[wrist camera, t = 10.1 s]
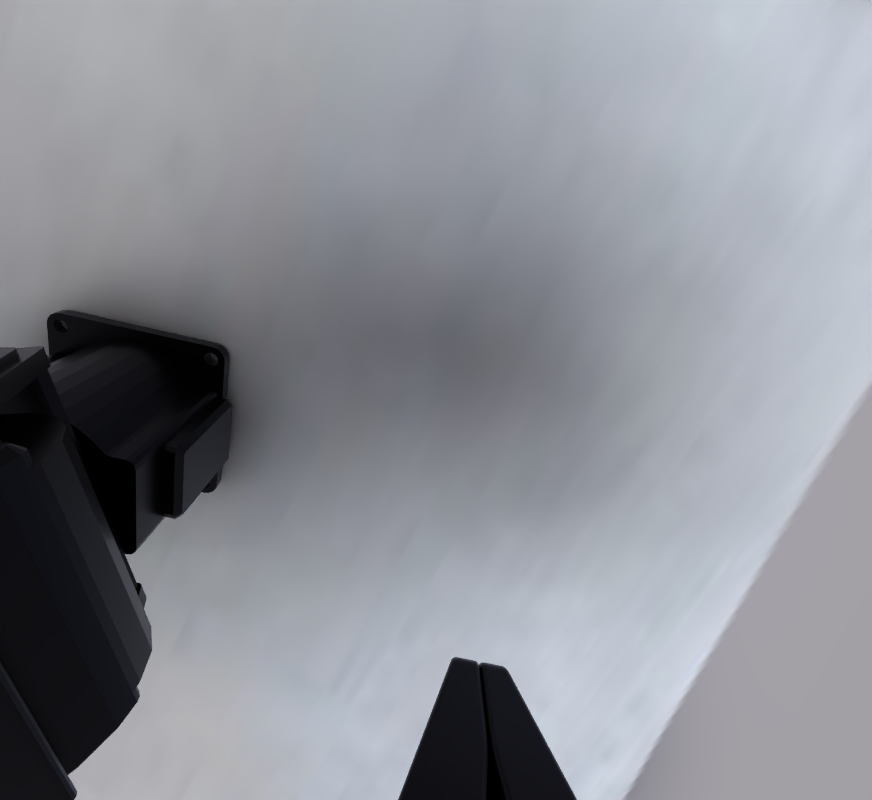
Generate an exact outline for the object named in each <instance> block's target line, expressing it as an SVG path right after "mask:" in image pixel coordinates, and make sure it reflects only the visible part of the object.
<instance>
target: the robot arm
mask: <svg viewBox="0 0 872 800" xmlns="http://www.w3.org/2000/svg"><path fill="white" fill-rule="evenodd" d="M62 320H63V321H64V322H65V323H66V324H67V326H68V329H66V328H65V327H64V326H63V325H62V322H61V321H62ZM47 329H48V342H49V355H50V356H48V357H47V355H46V353H45V350H44V348H43V347H28V348H17V349H16V348H0V800H74V799H75V797H76V795H77V790H76V788H75V787H74V785H73V783H72V782H71V780H70V778H69V777H68V775H69V774H70V773H71V772H73V771H74V770H75V769H76V768H78V767H79V766H80V765H81V764H82V763H83V762H84V761H85V760H86V759H87V758H88V757H89V756H90V755H91V754H92V753H93V752H94V751H95V750H96V749H97V748H98V747H99V746H100V745H101V744H102V743H103V742H104V741H105V740H106V739H107V738H108V737H109V736H110V735H111V734H112V733H113V732H114V731H115V730H116V729H117V728H118V727H119V726H120V724H121V723H122V722H123V720H124V719H125V718H126V716H127V715H128V714H129V712H130V711H131V710H132V708H133V707H134V706H135V704H136V703H137V701H138V699H139V697H140V694H139V690H138V688H137V685H138V684H139V682H140V680H141V678H142V675H143V672H144V670H145V667H146V664H147V662H148V659H149V657H150V654H151V651H152V638H151V625H150V623H149V620H148V618H147V616H146V613H145V611H144V606H145V602H146V595H145V593H144V590H143V588H142V585H141V584H140V583H136V580H135V578H134V576H133V573H132V571H131V568H130V566H129V564H128V561H127V559H126V556H125V554H133V553H134V552H136V550H137V549H138V548H139V547H140V546H141V545H142V543H143V542H144V541H145V540H146V539H147V538H148V536H149V535H150V534H151V533H152V532H153V531H154V529H155V528H156V527H157V526H158V525H159V524H160V522H161V521H162V520H163V519H164V518H165V517H169V518H174V519H176V518H177V517H179V516H181V515H182V514H184V512H185V511H186V510H187V509H188V508H189V506H190V505H191V504H192V503H193V501H194V500H195V499H196V498H197V496H198V495H199V494H200V493H201V492H204V493H209V492H212V491H214V490H215V489H216V487H217V486H218V485H219V484H220V481H221V469H222V465H223V464H224V463H225V462H226V461H227V459H228V457H229V445H230V432H231V418H232V404H231V403H230V401H229V400H228V399H226V396H227V382H228V368H229V355H228V352H227V351H226V349H225V348H224V347H223V346H221V345H219V344H216V343H211V342H207V341H203V340H198V339H194V338H189V337H185V336H180V335H176V334H171V333H167V332H162V331H158V330H153V329H149V328H144V327H140V326H135V325H131V324H126V323H122V322H117V321H113V320H108V319H104V318H99V317H95V316H90V315H86V314H81V313H77V312H72V311H68V310H62V311H59V312H56V313H53V314H51V315H50V316H49V317H48V320H47ZM209 353H213V354H215V355H216V356H217V357H218V362H214V361H212V360H211V359H210V357H209ZM209 482H211V483H209ZM398 800H577V799H576V797H575V795H574V793H573V792H572V790H571V788H570V786H569V784H568V782H567V780H566V778H565V777H564V775H563V773H562V771H561V769H560V767H559V765H558V763H557V762H556V760H555V758H554V756H553V754H552V752H551V750H550V748H549V747H548V745H547V743H546V741H545V739H544V737H543V735H542V733H541V732H540V730H539V728H538V726H537V724H536V722H535V720H534V718H533V717H532V715H531V713H530V711H529V709H528V707H527V705H526V704H525V702H524V700H523V698H522V696H521V694H520V692H519V690H518V689H517V687H516V685H515V683H514V681H513V679H512V677H511V675H510V674H509V672H508V670H507V669H506V668H504V667H503V666H499V665H494V664H489V663H480V664H479V665H478V663H477V662H476V661H473V660H468V659H463V658H458V657H454V658H453V659H452V660H451V662H450V665H449V667H448V670H447V673H446V675H445V678H444V681H443V683H442V686H441V688H440V691H439V694H438V696H437V699H436V702H435V704H434V707H433V710H432V712H431V715H430V717H429V720H428V723H427V725H426V728H425V731H424V733H423V736H422V738H421V741H420V744H419V746H418V749H417V752H416V754H415V757H414V759H413V762H412V765H411V767H410V770H409V773H408V775H407V778H406V781H405V783H404V786H403V788H402V791H401V794H400V796H399V799H398Z"/></svg>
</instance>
